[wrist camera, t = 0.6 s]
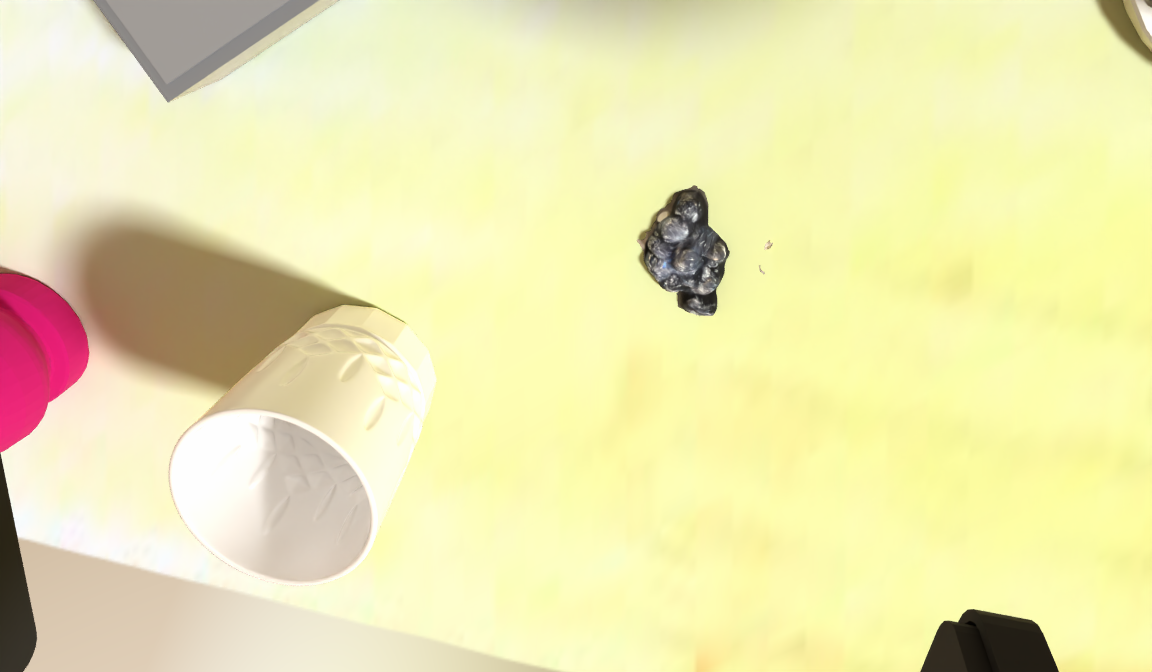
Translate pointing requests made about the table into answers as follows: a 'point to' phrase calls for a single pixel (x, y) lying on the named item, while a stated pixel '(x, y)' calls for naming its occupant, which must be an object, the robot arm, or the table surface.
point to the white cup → (307, 449)
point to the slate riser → (202, 35)
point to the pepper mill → (35, 353)
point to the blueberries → (687, 252)
